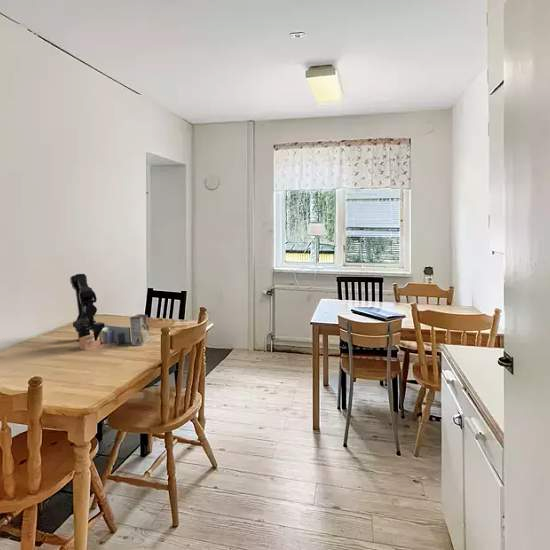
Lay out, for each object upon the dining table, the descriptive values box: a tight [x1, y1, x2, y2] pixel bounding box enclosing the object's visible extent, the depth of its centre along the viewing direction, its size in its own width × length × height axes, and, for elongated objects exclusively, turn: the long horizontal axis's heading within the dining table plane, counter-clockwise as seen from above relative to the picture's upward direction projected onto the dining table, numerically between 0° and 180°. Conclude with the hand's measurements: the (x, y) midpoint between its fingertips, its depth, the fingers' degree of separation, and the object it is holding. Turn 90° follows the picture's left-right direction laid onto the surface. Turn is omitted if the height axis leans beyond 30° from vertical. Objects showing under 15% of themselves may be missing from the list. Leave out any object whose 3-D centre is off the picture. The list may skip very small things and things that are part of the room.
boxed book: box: [78, 333, 101, 351], centre depth 231 cm, size 5×10×6 cm, turn 155°
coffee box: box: [129, 313, 151, 346], centre depth 237 cm, size 9×6×16 cm
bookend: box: [115, 332, 130, 346], centre depth 236 cm, size 5×5×6 cm
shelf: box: [100, 324, 132, 344], centre depth 240 cm, size 19×7×9 cm, turn 65°
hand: (89, 339), depth 231 cm, fingers open, 9 cm apart
